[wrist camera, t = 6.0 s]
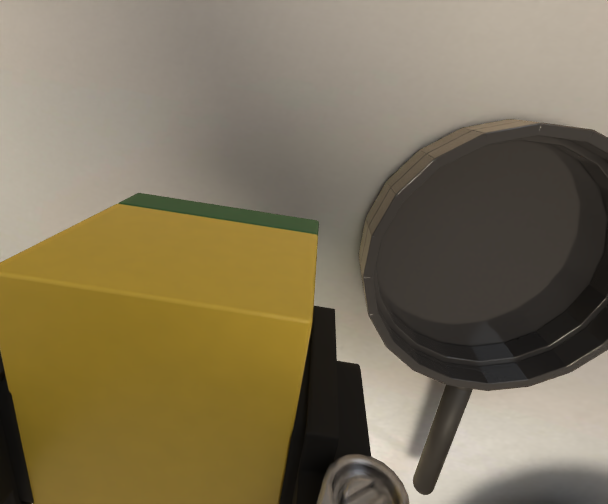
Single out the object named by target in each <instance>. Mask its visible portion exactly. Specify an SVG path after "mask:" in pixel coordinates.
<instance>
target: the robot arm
mask: <svg viewBox="0 0 608 504" xmlns="http://www.w3.org/2000/svg"><path fill="white" fill-rule="evenodd" d="M32 503H34V499H33V494H32V489H31V485H30V480H29V475H28V470H27V466H26V461H25V456H24V451H23V446H22V442H21V437H20V432H19V427H18V423H17V418H16V413H15V408H14V403H13V399H12V394H11V393H10V391H9V389H8V385H7V380H6V375H5V370H4V366H3V361H2V356H1V352H0V504H32ZM279 504H409V498H408V494H407V492H406V490H405V487H404V485H403V483H402V482H401V480H400V479H399V478H398V476H397V475H396V474H395V472H394V471H392V470H391V469H390V468H389V467H388V466H386V465H385V464H384V463H383V462H381V461H379V460H377V459H375V458H373V457H371V452H370V444H369V435H368V427H367V419H366V411H365V403H364V394H363V386H362V378H361V370H360V366H359V364H354V363H347V362H341V361H337V358H336V329H335V309H331V308H325V307H319V306H314V307H313V322H312V328H311V334H310V339H309V345H308V350H307V356H306V361H305V367H304V373H303V378H302V384H301V389H300V395H299V400H298V406H297V411H296V417H295V422H294V428H293V431H292V436H291V441H290V447H289V452H288V458H287V463H286V469H285V475H284V480H283V486H282V491H281V497H280V503H279Z"/></svg>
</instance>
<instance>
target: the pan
mask: <svg viewBox="0 0 608 504" xmlns="http://www.w3.org/2000/svg"><path fill="white" fill-rule="evenodd" d="M359 263H360V270H361V276H362V283H363V290H364V295H365V300H366V305H367V311H368V314H369V317H370V319H371V321H372V322H373V324H374V326H375V328H376V330H377V331H378V333H379V335H380V337H381V339H382V340H383V342H384V344H385V346H386V347H387V348H388V349H389V350H390V351H392V352H393V353H394V354H395V355H396V356H397V357H399V358H400V359H401V360H402V361H403V362H404V363H405V364H407V365H408V366H409V367H410V368H411V369H412V370H414V371H416V372H418V373H420V374H423V375H425V376H427V377H430V378H432V379H434V380H437V381H439V382H441V383H444V384H446V385H449V386H456V387H463V388H471V389H478V390H485V391H491V390H501V389H511V388H520V387H529V386H532V385H535V384H538V383H541V382H544V381H547V380H550V379H553V378H556V377H559V376H562V375H565V374H568V373H570V372H572V371H574V370H576V369H577V368H579V367H581V366H582V365H584V364H585V363H587V362H589V361H590V360H592V359H594V358H595V357H597V356H598V355H600V354H602V353H603V352H605V351H607V350H608V138H607V137H606V136H604V135H602V134H600V133H598V132H597V131H595V130H592V129H584V128H577V127H570V126H562V125H555V124H548V123H540V122H532V121H523V120H515V119H506V120H501V121H495V122H490V123H485V124H479V125H474V126H469V127H463V128H461V129H459V130H457V131H455V132H453V133H451V134H449V135H447V136H445V137H443V138H441V139H439V140H437V141H435V142H434V143H432V144H430V145H428V146H426V147H424V148H422V149H420V150H419V151H418V152H417V153H416V154H414V155H413V156H412V157H411V158H410V159H409V160H408V161H407V162H406V163H405V164H404V165H403V166H402V167H401V168H400V169H399V170H398V171H397V172H396V173H395V174H394V175H392V176H391V177H390V178H389V179H388V180H387V182H386V183H385V185H384V186H383V188H382V190H381V192H380V193H379V195H378V197H377V199H376V201H375V202H374V204H373V206H372V208H371V209H370V211H369V213H368V215H367V216H366V219H365V224H364V229H363V234H362V239H361V244H360V249H359Z"/></svg>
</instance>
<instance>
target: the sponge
mask: <svg viewBox="0 0 608 504" xmlns="http://www.w3.org/2000/svg"><path fill="white" fill-rule="evenodd" d="M318 228H319V222H318V221H317V220H310V219H304V218H297V217H291V216H285V215H278V214H272V213H265V212H259V211H252V210H246V209H239V208H233V207H227V206H220V205H214V204H207V203H201V202H194V201H188V200H181V199H175V198H169V197H162V196H156V195H149V194H143V193H137V194H135V195H133V196H131V197H129V198H127V199H125V200H123V201H121V202H119V204H115V205H113V206H111V207H110V208H108V209H106V210H104V211H102V212H100V213H98V214H96V215H94V216H92V217H90V218H88V219H86V220H84V221H82V222H80V223H78V224H76V225H74V226H72V227H70V228H68V229H66V230H64V231H62V232H60V233H58V234H56V235H54V236H52V237H50V238H48V239H46V240H44V241H42V242H40V243H38V244H36V245H34V246H32V247H30V248H28V249H26V250H24V251H22V252H20V253H18V254H16V255H14V256H12V257H10V258H8V259H6V260H4V261H2V262H0V352H1V356H2V361H3V366H4V370H5V375H6V380H7V385H8V389H9V391H10V393H11V394H12V399H13V403H14V408H15V413H16V418H17V423H18V427H19V432H20V437H21V442H22V446H23V451H24V456H25V461H26V466H27V470H28V475H29V480H30V485H31V489H32V494H33V499H34V503H33V504H279V503H280V497H281V491H282V486H283V480H284V475H285V469H286V463H287V458H288V452H289V447H290V441H291V436H292V431H293V428H294V422H295V417H296V411H297V406H298V400H299V395H300V389H301V384H302V378H303V373H304V367H305V361H306V356H307V350H308V345H309V339H310V334H311V328H312V322H313V306H314V291H315V275H316V260H317V244H318Z"/></svg>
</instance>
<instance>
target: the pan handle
mask: <svg viewBox="0 0 608 504" xmlns="http://www.w3.org/2000/svg"><path fill="white" fill-rule="evenodd" d="M472 390H473V389H471V388H463V387H456V386H449V385H446V386H445V389H444V392H443V395H442V397H441V400H440V403H439V406H438V409H437V412H436V415H435V417H434V420H433V423H432V426H431V429H430V432H429V435H428V437H427V440H426V443H425V446H424V449H423V452H422V454H421V457H420V460H419V463H418V466H417V469H416V472H415V474H414V477H413V484H414V487H415V489H416V490H417V491H418V492H419V493H421V494H423V495H428V494H430V493H431V492H432V491H433V490H434V487H435V485H436V482H437V480H438V477H439V474H440V472H441V469H442V467H443V464H444V462H445V459H446V456H447V454H448V451H449V449H450V446H451V444H452V441H453V438H454V436H455V433H456V431H457V428H458V426H459V423H460V420H461V418H462V415H463V413H464V410H465V408H466V405H467V402H468V400H469V397H470V395H471V392H472Z"/></svg>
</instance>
